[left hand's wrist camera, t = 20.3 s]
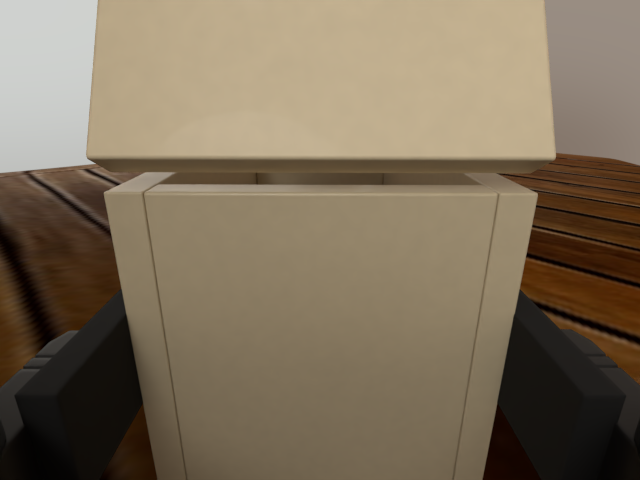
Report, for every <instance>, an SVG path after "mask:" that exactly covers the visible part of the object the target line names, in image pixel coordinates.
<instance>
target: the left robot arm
mask: <svg viewBox="0 0 640 480" xmlns="http://www.w3.org/2000/svg"><path fill="white" fill-rule="evenodd" d="M35 356H36V357H35V358H32V359H31V360H30V361H29V362H28V363H27V364H26V365H24V368H23V369H20V370H19V371H18V372H17V373H16V374H15V375H14V376H13V377H12V378H10V379H9V380H8V381H7V382H6V383H5V384H4V385H3V386H2V387H1V388H0V480H99V479H100V477H101V476H102V474H103V472H104V470H105V469H106V467H107V465H108V463H109V462H110V460H111V458H112V456H113V455H114V453H115V451H116V449H117V448H118V446H119V444H120V442H121V441H122V439H123V437H124V435H125V433H126V432H127V430H128V428H129V426H130V425H131V423H132V421H133V419H134V418H135V416H136V414H137V412H138V411H139V409H140V407H141V405H142V404H143V399H142V394H141V389H140V383H139V378H138V373H137V367H136V362H135V357H134V352H133V346H132V341H131V336H130V331H129V325H128V320H127V315H126V310H125V304H124V299H123V294H122V288H121V289H120V290H119V291H118V292H117V293H116V294H115V295H114V296H113V297H112V298H111V299H110V300H109V301H108V302H107V303H106V304H105V305H104V306H103V307H102V308H101V309H100V310H99V311H98V312H97V313H96V314H95V315H94V316H93V317H92V318H91V319H90V320H89V321H88V322H87V323H86V324H85V325H84V326H83V327H82V328H81V329H80V330H79V331H68V332H67V333H65V334H63V335H61V336H60V337H58V338H56V339H54V340H52V341H51V342H49V343H48V344H47V345H46V346H45V347H44V348H43V349H42V350H41V351H40V352H38V353H37V354H36V355H35ZM497 403H498V404H499V406H500V408H501V410H502V412H503V413H504V415H505V417H506V419H507V420H508V422H509V424H510V426H511V427H512V429H513V431H514V433H515V434H516V436H517V438H518V440H519V441H520V443H521V445H522V447H523V448H524V450H525V452H526V454H527V456H528V457H529V459H530V461H531V463H532V464H533V466H534V468H535V470H536V471H537V473H538V475H539V477H540V478H541V480H640V385H639V384H638V383H637V382H635V381H634V380H633V379H632V378H631V377H630V376H629V375H628V374H627V373H626V372H625V371H623V370H622V369H621V368H618V365H617V364H616V363H615V362H614V361H613V360H612V359H610V358H609V357H606V355H605V353H604V352H603V351H602V350H601V349H600V348H599V347H597V346H596V345H595V344H594V343H593V342H592V341H591V340H589V339H587V338H585V337H584V336H582V335H580V334H578V333H577V332H575V331H573V330H571V329H559V328H558V327H557V326H556V325H555V324H554V323H553V322H552V321H551V320H550V319H549V318H548V317H547V316H546V315H545V314H544V313H543V312H542V311H541V310H540V309H539V308H538V307H537V306H536V305H535V304H534V303H533V302H532V301H531V300H530V299H529V298H528V297H527V296H526V295H525V294H524V293H523V292H522V291H521V290H520V289H519V295H518V300H517V305H516V310H515V314H514V317H513V323H512V328H511V333H510V338H509V343H508V349H507V354H506V359H505V364H504V370H503V375H502V380H501V385H500V390H499V396H498V401H497Z"/></svg>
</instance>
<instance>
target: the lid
mask: <svg viewBox="0 0 640 480" xmlns="http://www.w3.org/2000/svg"><path fill="white" fill-rule="evenodd" d="M86 155H87V158H88V159H89V160H91V161H92V162H94V163H96V164H98V165H99V166H101V167H103V168H105V169H106V170H108V171H110V172H237V173H532V172H534V171H536V170H537V169H539V168H541V167H543V166H545V165H546V164H548V163H550V162H552V161H554V160H555V158H556V150H555V136H554V123H553V109H552V95H551V82H550V68H549V54H548V40H547V26H546V13H545V0H98V7H97V20H96V33H95V46H94V60H93V73H92V86H91V99H90V112H89V125H88V138H87V151H86Z"/></svg>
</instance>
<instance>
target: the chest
mask: <svg viewBox="0 0 640 480" xmlns="http://www.w3.org/2000/svg"><path fill="white" fill-rule="evenodd" d="M537 197H538V194H537V193H535V192H533V191H531V190H529V189H527V188H525V187H523V186H521V185H519V184H517V183H515V182H512V181H510V180H508V179H506V178H504V177H502V176H500V175H498V174H496V173H237V172H146V173H144V174H142V175H139V176H137V177H135V178H133V179H131V180H129V181H127V182H125V183H123V184H121V185H119V186H117V187H114V188H112V189H110V190H108V191H106V192H104V198H105V203H106V208H107V214H108V219H109V224H110V230H111V235H112V240H113V246H114V251H115V256H116V262H117V267H118V272H119V278H120V283H121V288H122V294H123V299H124V304H125V310H126V315H127V320H128V325H129V331H130V336H131V341H132V346H133V352H134V357H135V362H136V367H137V373H138V378H139V383H140V389H141V394H142V399H143V405H144V411H145V416H146V421H147V427H148V432H149V437H150V443H151V448H152V453H153V459H154V464H155V469H156V475H157V480H482V479H483V474H484V469H485V464H486V459H487V454H488V449H489V443H490V438H491V433H492V428H493V423H494V418H495V413H496V407H497V401H498V396H499V390H500V385H501V380H502V375H503V370H504V364H505V359H506V354H507V349H508V343H509V338H510V333H511V328H512V323H513V317H514V314H515V310H516V305H517V300H518V295H519V289H520V284H521V279H522V274H523V269H524V264H525V259H526V253H527V248H528V243H529V238H530V233H531V228H532V223H533V218H534V212H535V207H536V202H537Z"/></svg>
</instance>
